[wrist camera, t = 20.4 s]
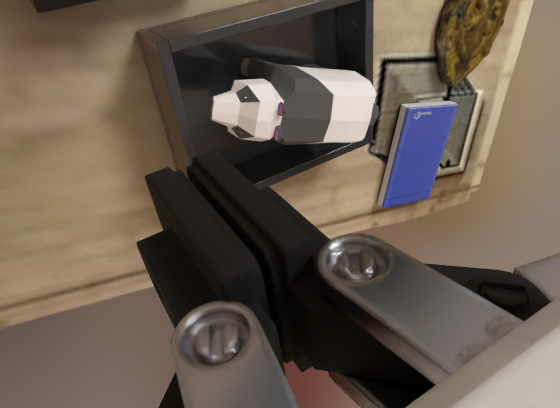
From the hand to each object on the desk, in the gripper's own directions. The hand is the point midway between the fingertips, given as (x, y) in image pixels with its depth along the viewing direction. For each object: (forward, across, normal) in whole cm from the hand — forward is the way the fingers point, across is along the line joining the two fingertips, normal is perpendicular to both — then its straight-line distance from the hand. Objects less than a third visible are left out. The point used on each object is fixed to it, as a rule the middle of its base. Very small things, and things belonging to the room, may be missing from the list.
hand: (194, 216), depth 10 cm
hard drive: (+25, -33, +22) cm, 47 cm away
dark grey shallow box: (+25, -14, +8) cm, 30 cm away
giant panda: (+24, -14, +8) cm, 29 cm away
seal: (+25, -40, +8) cm, 48 cm away
